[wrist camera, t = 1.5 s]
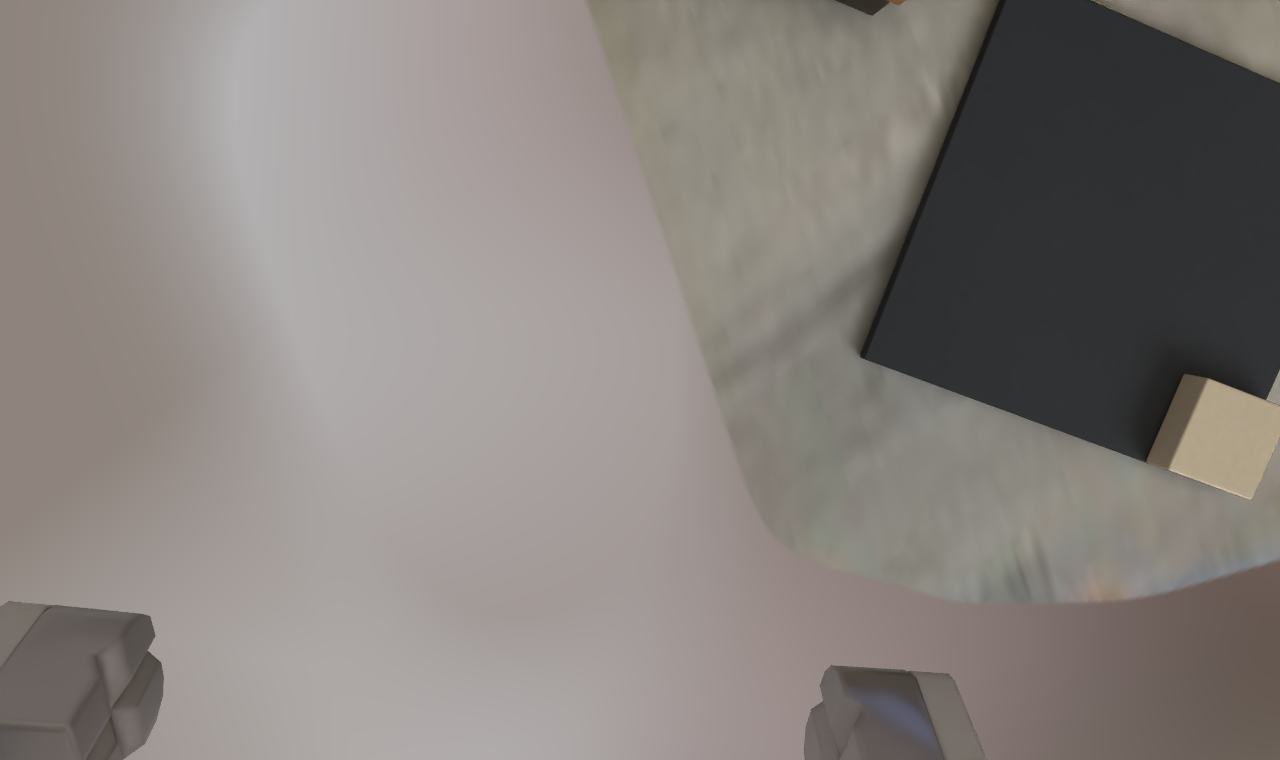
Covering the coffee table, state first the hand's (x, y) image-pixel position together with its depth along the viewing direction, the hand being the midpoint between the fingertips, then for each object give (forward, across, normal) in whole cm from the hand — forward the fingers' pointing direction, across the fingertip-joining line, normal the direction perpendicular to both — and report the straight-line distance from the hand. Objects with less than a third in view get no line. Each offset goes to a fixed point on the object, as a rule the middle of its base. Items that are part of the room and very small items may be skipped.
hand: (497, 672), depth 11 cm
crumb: (+23, -28, +9) cm, 37 cm away
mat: (+26, -23, +3) cm, 35 cm away
